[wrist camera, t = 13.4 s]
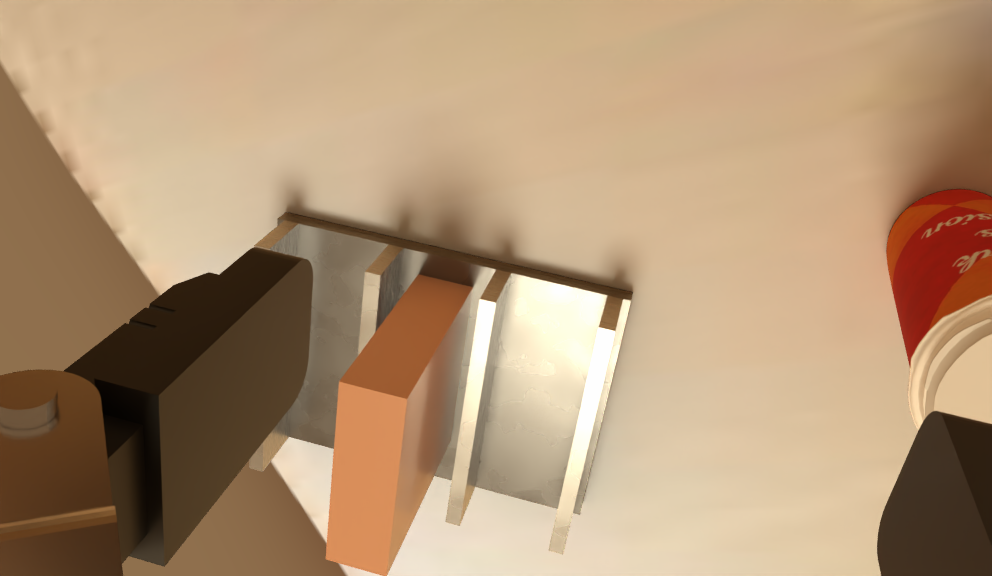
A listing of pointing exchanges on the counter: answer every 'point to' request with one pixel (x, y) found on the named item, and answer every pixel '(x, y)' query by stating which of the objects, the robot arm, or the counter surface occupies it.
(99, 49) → the counter surface
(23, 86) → the counter surface
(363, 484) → the upright orange slab
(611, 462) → the counter surface
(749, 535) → the counter surface
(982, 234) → the paper cup
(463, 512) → the dish rack
